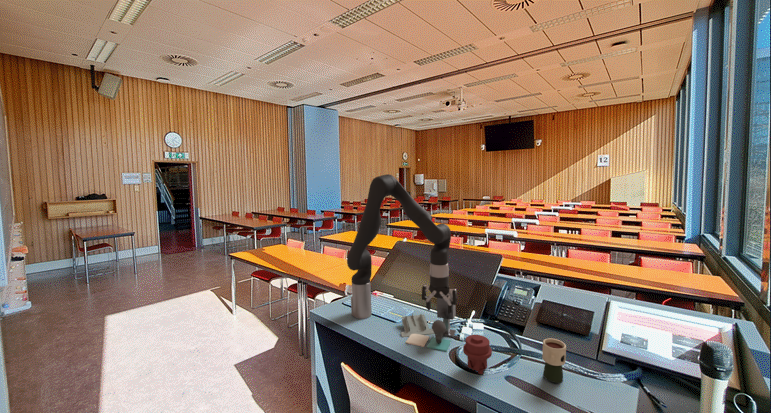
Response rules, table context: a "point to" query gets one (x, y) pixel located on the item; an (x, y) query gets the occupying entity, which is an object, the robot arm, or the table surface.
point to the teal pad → (442, 346)
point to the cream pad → (417, 339)
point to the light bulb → (438, 330)
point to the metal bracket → (415, 325)
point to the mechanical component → (477, 352)
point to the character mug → (554, 359)
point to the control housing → (446, 315)
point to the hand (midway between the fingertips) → (439, 311)
